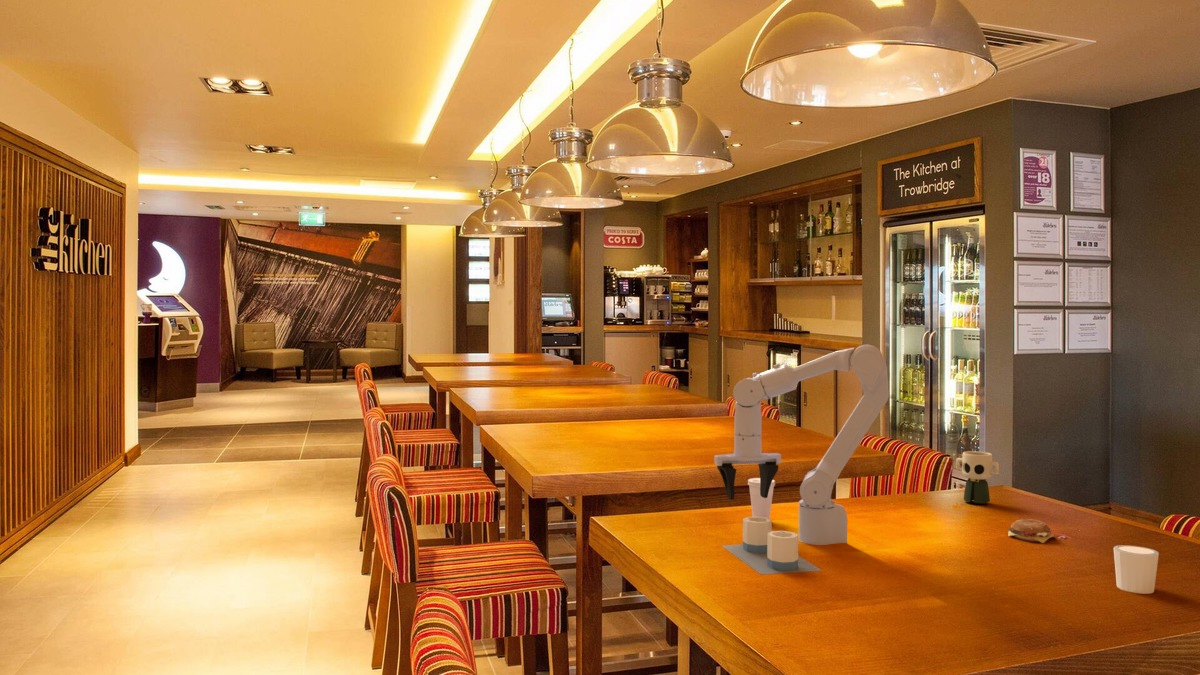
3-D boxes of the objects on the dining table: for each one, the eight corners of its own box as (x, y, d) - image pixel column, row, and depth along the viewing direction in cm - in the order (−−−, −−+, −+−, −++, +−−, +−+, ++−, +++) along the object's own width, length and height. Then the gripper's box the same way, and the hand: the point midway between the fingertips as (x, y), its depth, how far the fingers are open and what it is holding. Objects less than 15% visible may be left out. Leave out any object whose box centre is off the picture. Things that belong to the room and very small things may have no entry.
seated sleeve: (789, 561, 164) (789, 530, 164) (801, 569, 159) (801, 537, 159) (763, 563, 163) (764, 531, 162) (775, 571, 158) (775, 538, 157)
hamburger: (1061, 552, 179) (1061, 523, 179) (993, 539, 189) (993, 512, 189) (1085, 539, 188) (1085, 512, 188) (1019, 528, 198) (1019, 502, 198)
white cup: (1158, 597, 148) (1159, 557, 148) (1112, 590, 152) (1112, 551, 152) (1157, 586, 154) (1158, 548, 154) (1113, 580, 158) (1113, 542, 158)
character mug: (950, 501, 224) (950, 452, 224) (960, 497, 230) (961, 449, 229) (993, 508, 217) (994, 457, 217) (1003, 504, 222) (1004, 454, 222)
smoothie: (775, 525, 199) (775, 464, 198) (746, 523, 200) (747, 463, 200) (775, 518, 205) (775, 460, 205) (747, 517, 206) (748, 459, 206)
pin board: (776, 549, 178) (776, 523, 177) (822, 578, 158) (822, 548, 158) (721, 553, 175) (721, 526, 175) (761, 582, 155) (761, 552, 155)
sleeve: (763, 545, 175) (764, 516, 175) (774, 552, 170) (774, 521, 170) (739, 546, 174) (740, 517, 174) (750, 553, 169) (750, 523, 169)
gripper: (771, 431, 189) (770, 492, 189) (709, 432, 186) (708, 495, 186) (785, 435, 182) (784, 499, 182) (721, 437, 179) (720, 502, 179)
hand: (747, 497), depth 184 cm, fingers open, 7 cm apart
